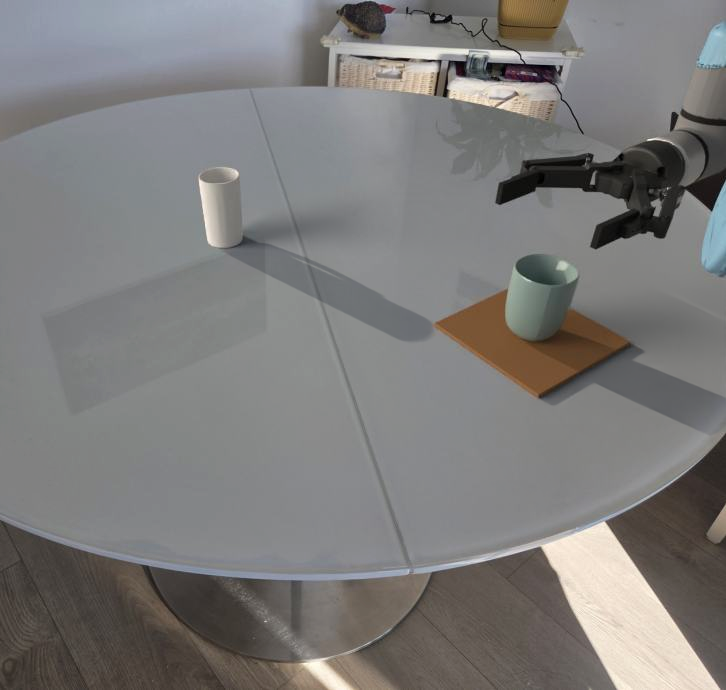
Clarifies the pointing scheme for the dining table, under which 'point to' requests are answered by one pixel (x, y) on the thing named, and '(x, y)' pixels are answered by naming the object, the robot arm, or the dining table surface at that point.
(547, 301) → the cup
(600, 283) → the dining table surface
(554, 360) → the cork mat
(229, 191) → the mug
